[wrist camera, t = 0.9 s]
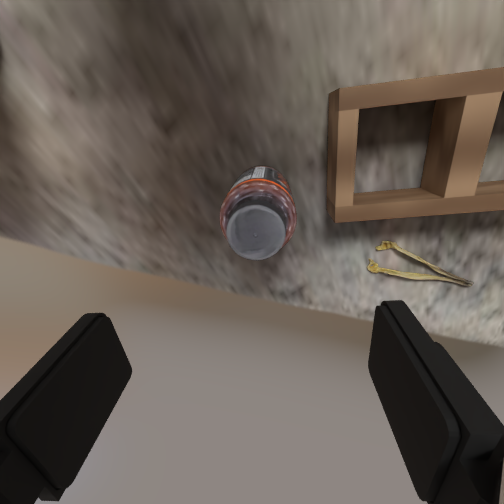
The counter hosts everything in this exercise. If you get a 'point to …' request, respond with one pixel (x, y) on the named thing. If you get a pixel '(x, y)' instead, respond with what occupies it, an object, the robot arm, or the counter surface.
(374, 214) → the rack
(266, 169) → the supplement bottle
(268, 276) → the counter surface
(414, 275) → the tongs
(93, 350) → the robot arm
